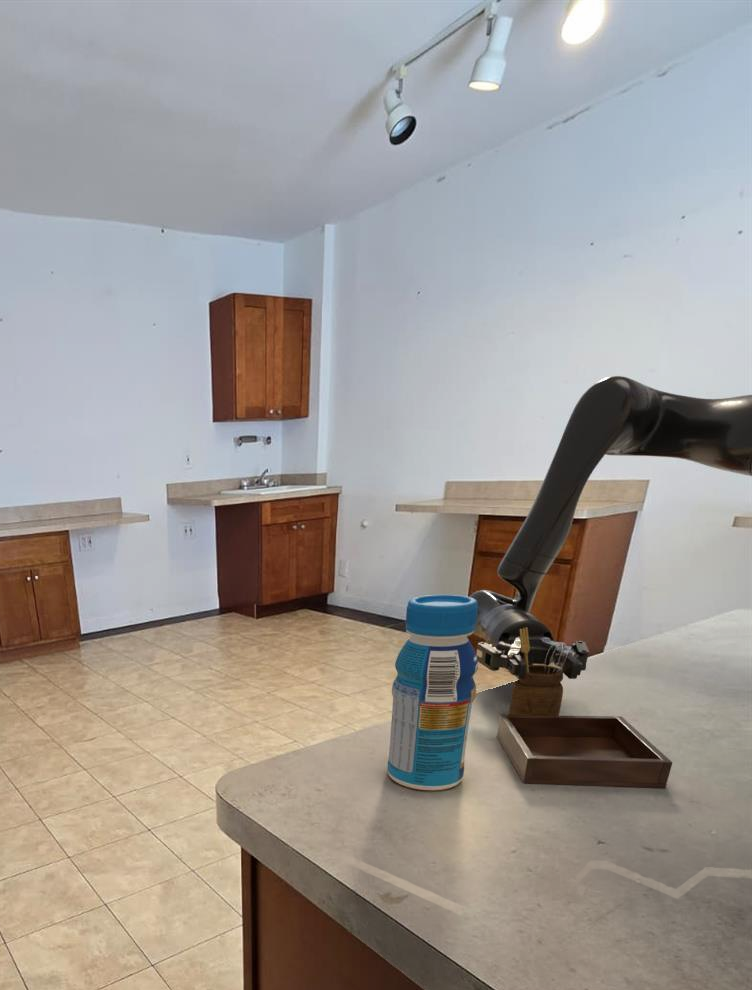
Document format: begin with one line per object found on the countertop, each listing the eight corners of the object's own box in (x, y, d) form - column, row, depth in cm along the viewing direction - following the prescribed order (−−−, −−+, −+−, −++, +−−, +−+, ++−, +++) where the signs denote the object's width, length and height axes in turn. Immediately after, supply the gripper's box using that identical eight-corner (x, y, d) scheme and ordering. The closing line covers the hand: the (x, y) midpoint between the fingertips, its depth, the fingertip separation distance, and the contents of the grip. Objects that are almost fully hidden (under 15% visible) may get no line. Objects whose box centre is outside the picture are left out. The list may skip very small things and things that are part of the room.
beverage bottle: (370, 777, 74) (382, 603, 65) (410, 755, 78) (426, 590, 70) (439, 800, 68) (461, 611, 59) (478, 775, 72) (503, 596, 64)
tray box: (616, 738, 79) (621, 716, 77) (665, 788, 67) (673, 762, 65) (496, 736, 82) (500, 714, 81) (523, 783, 70) (527, 758, 69)
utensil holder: (541, 731, 82) (557, 639, 77) (496, 718, 87) (509, 632, 82) (567, 720, 85) (585, 631, 80) (522, 709, 90) (536, 624, 85)
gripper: (468, 614, 95) (491, 642, 81) (575, 612, 92) (619, 641, 77) (462, 663, 99) (483, 699, 84) (565, 663, 95) (606, 700, 80)
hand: (548, 671), depth 81 cm, fingers open, 5 cm apart
